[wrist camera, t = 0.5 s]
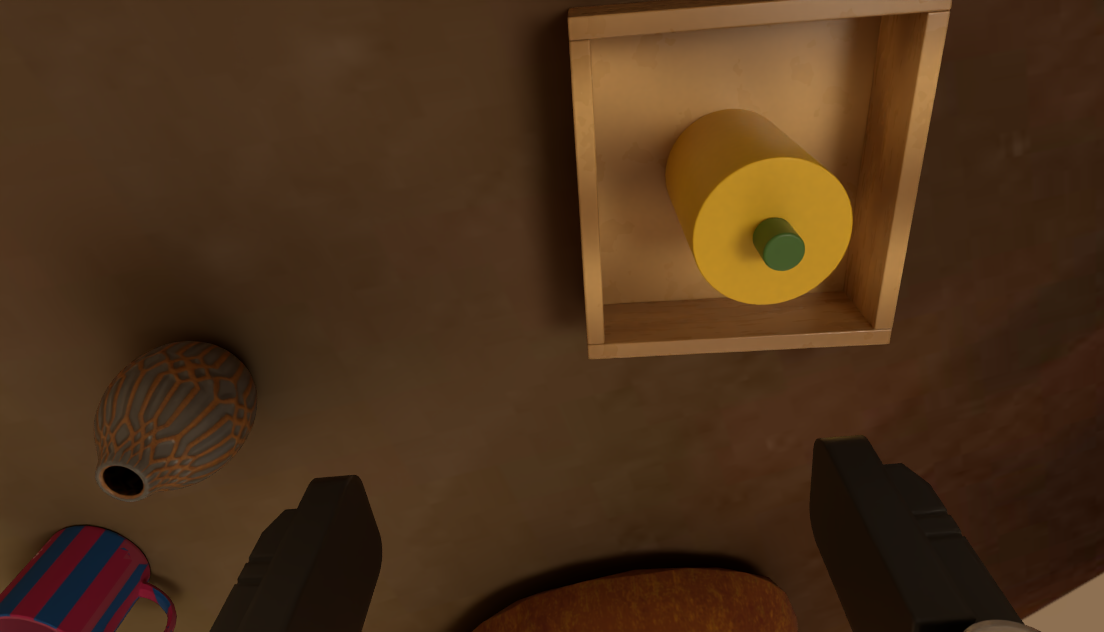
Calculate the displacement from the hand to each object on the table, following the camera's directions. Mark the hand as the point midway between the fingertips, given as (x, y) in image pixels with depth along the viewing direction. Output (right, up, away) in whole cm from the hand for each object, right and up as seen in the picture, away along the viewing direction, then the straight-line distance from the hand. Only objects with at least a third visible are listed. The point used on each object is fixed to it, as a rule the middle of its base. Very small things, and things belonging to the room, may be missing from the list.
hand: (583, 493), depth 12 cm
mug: (-29, -14, +34) cm, 47 cm away
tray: (+7, +10, +20) cm, 23 cm away
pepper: (+7, +10, +19) cm, 23 cm away
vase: (-20, 0, +26) cm, 33 cm away
